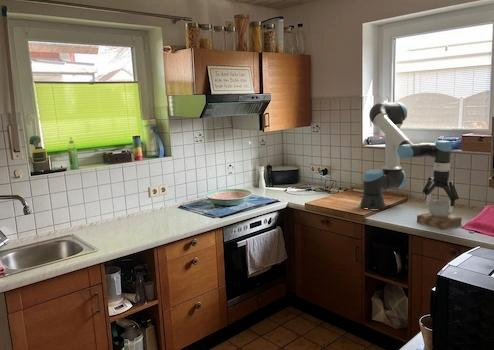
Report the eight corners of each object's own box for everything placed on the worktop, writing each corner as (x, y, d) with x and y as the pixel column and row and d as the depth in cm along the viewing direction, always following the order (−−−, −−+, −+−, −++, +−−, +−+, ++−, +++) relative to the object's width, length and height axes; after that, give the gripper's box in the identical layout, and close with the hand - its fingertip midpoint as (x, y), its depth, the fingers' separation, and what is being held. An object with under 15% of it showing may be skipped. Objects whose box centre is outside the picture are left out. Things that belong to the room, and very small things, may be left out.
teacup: (453, 219, 216) (453, 204, 215) (430, 218, 218) (431, 204, 217) (446, 212, 229) (447, 198, 228) (425, 212, 232) (426, 198, 231)
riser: (416, 222, 228) (417, 214, 227) (435, 217, 235) (435, 210, 234) (442, 229, 214) (443, 221, 213) (461, 224, 221) (461, 217, 220)
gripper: (417, 167, 228) (415, 204, 232) (458, 174, 206) (455, 215, 211) (426, 166, 231) (424, 202, 236) (468, 173, 210) (465, 213, 214)
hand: (439, 208), depth 223 cm, fingers open, 13 cm apart
